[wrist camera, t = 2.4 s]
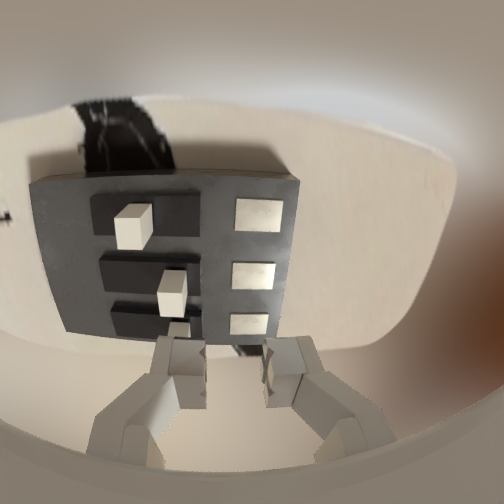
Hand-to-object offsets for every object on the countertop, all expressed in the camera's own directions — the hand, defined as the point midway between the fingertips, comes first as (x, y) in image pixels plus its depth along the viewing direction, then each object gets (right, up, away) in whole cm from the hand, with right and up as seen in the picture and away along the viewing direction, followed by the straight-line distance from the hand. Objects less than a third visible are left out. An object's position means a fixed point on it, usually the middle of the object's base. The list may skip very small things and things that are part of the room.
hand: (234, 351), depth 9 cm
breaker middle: (-6, +1, +13) cm, 14 cm away
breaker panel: (-9, +3, +17) cm, 19 cm away
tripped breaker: (-8, +6, +11) cm, 14 cm away
